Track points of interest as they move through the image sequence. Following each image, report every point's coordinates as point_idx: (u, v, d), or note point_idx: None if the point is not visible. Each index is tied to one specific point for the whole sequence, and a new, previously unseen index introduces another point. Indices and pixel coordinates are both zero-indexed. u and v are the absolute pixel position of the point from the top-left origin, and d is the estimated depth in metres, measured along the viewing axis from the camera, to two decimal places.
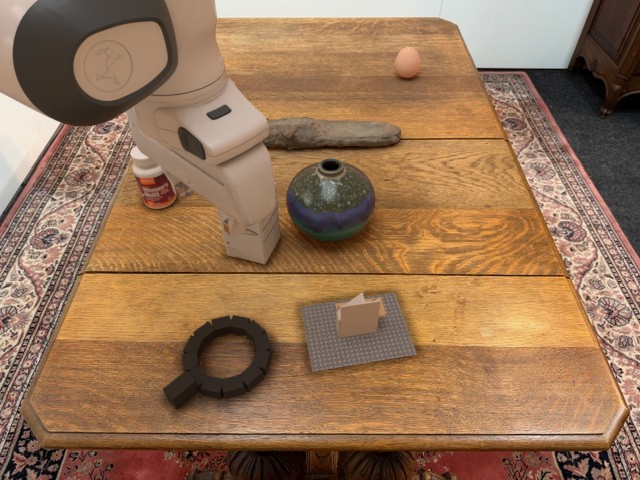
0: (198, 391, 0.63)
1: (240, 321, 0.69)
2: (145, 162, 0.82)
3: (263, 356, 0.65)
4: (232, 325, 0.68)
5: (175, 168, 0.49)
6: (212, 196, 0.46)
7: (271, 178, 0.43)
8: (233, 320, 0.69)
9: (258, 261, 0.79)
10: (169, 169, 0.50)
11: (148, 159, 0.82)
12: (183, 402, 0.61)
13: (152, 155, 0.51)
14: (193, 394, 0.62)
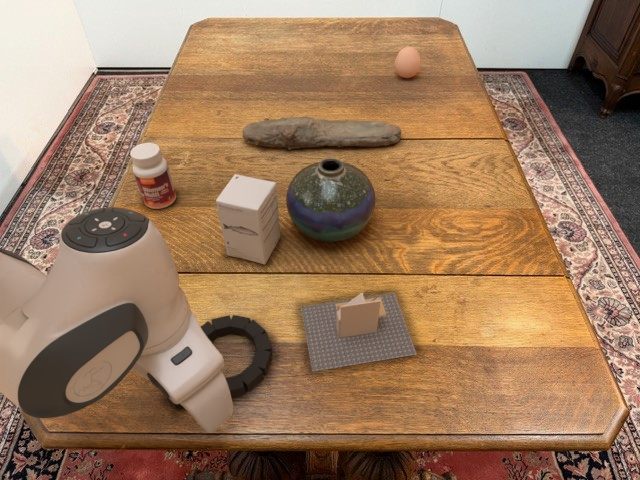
0: None
1: (240, 321, 0.69)
2: (145, 162, 0.82)
3: (263, 356, 0.65)
4: (232, 325, 0.68)
5: None
6: None
7: (228, 396, 0.51)
8: (233, 320, 0.69)
9: (258, 261, 0.79)
10: None
11: (148, 159, 0.82)
12: None
13: None
14: None
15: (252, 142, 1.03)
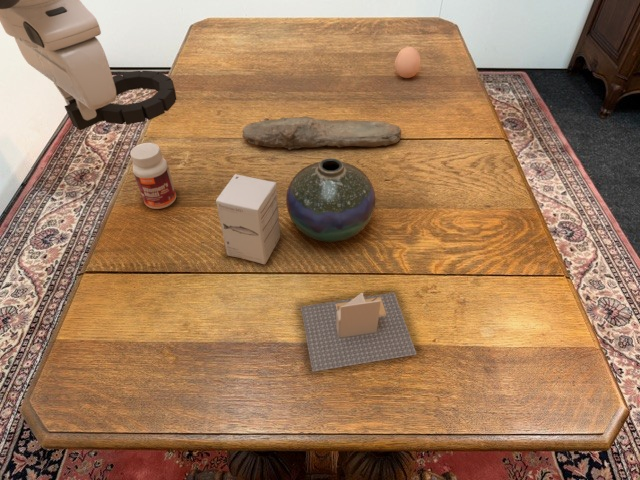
0: (101, 117, 0.67)
1: (149, 73, 0.73)
2: (145, 162, 0.82)
3: (164, 92, 0.69)
4: (141, 76, 0.72)
5: (45, 69, 0.61)
6: (68, 87, 0.58)
7: (106, 68, 0.56)
8: (142, 73, 0.73)
9: (258, 261, 0.79)
10: (44, 72, 0.62)
11: (148, 159, 0.82)
12: (85, 123, 0.66)
13: (33, 63, 0.64)
14: (96, 119, 0.67)
15: (252, 142, 1.03)
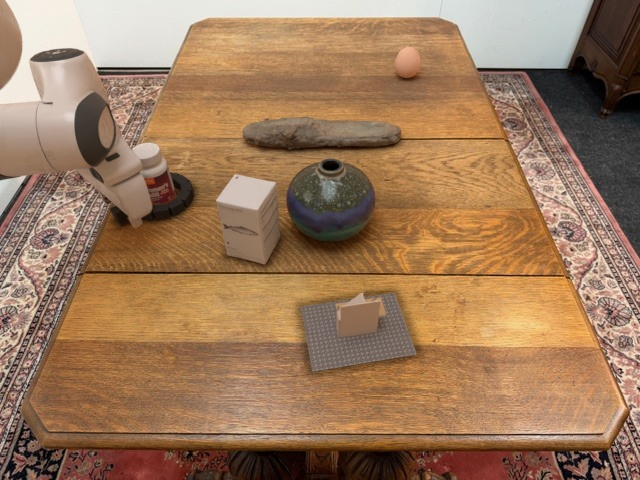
0: None
1: (172, 175, 0.93)
2: (145, 162, 0.82)
3: (185, 193, 0.89)
4: None
5: (97, 185, 0.81)
6: (116, 202, 0.79)
7: (146, 192, 0.76)
8: None
9: (258, 261, 0.79)
10: (95, 186, 0.83)
11: (148, 159, 0.82)
12: (125, 220, 0.86)
13: (85, 177, 0.84)
14: None
15: (252, 142, 1.03)
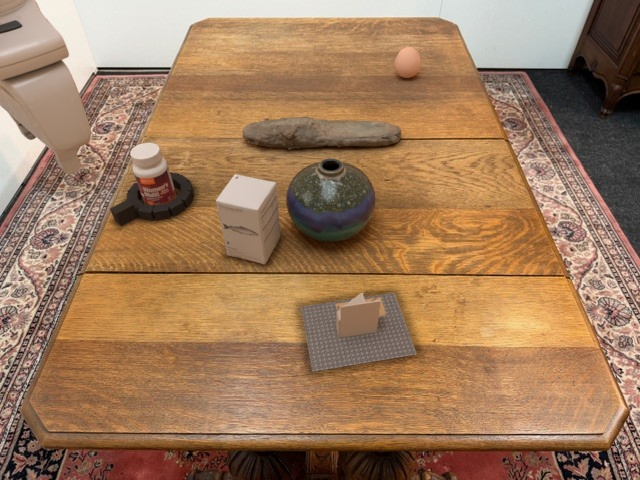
0: (136, 215, 0.87)
1: (172, 175, 0.93)
2: (145, 162, 0.82)
3: (185, 193, 0.89)
4: None
5: (1, 100, 0.47)
6: (28, 124, 0.45)
7: (77, 101, 0.42)
8: None
9: (258, 261, 0.79)
10: None
11: (148, 159, 0.82)
12: (125, 220, 0.86)
13: None
14: (133, 216, 0.87)
15: (252, 142, 1.03)
